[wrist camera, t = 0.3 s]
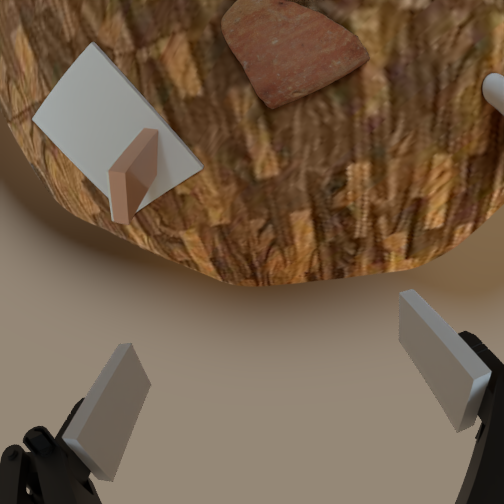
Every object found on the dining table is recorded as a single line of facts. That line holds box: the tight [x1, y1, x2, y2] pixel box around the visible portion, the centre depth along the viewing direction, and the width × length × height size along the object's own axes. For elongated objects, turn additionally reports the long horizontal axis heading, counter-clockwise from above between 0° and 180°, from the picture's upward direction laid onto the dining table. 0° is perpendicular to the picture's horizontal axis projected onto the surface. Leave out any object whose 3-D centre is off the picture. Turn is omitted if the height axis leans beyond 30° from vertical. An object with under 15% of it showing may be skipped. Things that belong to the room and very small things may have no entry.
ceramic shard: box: [221, 0, 370, 109], centre depth 30 cm, size 15×6×15 cm
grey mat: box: [32, 42, 204, 212], centre depth 43 cm, size 26×18×1 cm
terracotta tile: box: [106, 128, 158, 225], centre depth 40 cm, size 2×8×12 cm, turn 169°
